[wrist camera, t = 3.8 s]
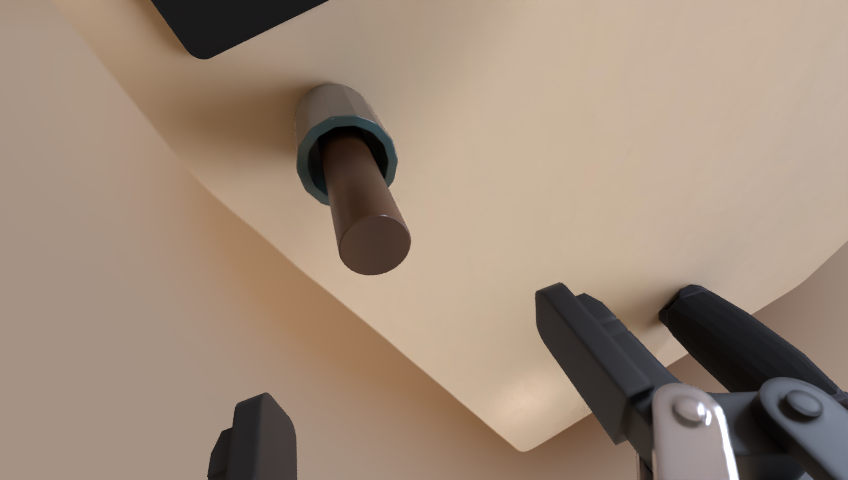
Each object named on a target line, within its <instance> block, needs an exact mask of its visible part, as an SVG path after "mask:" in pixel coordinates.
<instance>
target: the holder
mask: <svg viewBox="0 0 848 480" xmlns="http://www.w3.org/2000/svg"><path fill="white" fill-rule="evenodd" d="M342 126H357V127H359V129H360V131H361V133H362V135H363V137H364V139H365V141H366V143H367V145H368V147H369V149H370V151H371V153H372V156H373V158H374V160H375V162H376V164H377V166H378V168H379V170H380V172H381V174H382V176H383V178H384V180H385V182H386V185H387V187H389V186H390V185H391V183H392V182H393V180H394V177H395V172H396V167H397V162H398V158H397V154H396V151H395V147H394V143H393V140H392V138H391V137H390V135H389V134H388V132H387V131H386V129H385V128H384V126H383V125H382V123H381V122H380V120H379V119H378V117H377V115H376V114H375V112H374V111H373V109H372V108H371V106H370V105H369V104H368V103H367V102H366V100H365V99H364V98H363V97H362V96H361V95H360V94H359V93H358V92H356V91H355V90H353V89H352V88H350V87H347V86H344V85H340V84H325V85H321V86H318V87H316V88H314V89H312V90H311V91H309V92H308V93H307V94H306V95H305V96H304V97H303V98H302V100H301V101H300V103H299V105H298V107H297V110H296V113H295V128H294V131H295V150H296V169H297V173H298V175H299V177H300V179H301V182H302V184H303V186H304V188H305V190H306V191H307V192H308V193H309V194H311V195H312V196H313V197H314V198H316V199H317V200H318V201H319V202H320V203H323V204H325V205H329V206H330V203H329V198H328V192H327V187H326V182H325V176H324V171H323V166H322V161H321V155H320V150H319V145H318V140H317V138H318V137H319V136H320V135H322V134H324V133H326V132H327V131H329V130H331V129H333V128H334V127H342Z"/></svg>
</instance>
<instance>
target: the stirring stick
mask: <svg viewBox="0 0 848 480" xmlns="http://www.w3.org/2000/svg"><path fill="white" fill-rule="evenodd" d="M317 140H318V145H319V150H320V155H321V161H322V166H323V171H324V176H325V182H326V187H327V192H328V198H329V203H330V208H331V213H332V219H333V224H334V229H335V234H336V240H337V245H338V250H339V255H340V258H341V260H342V262H343V263H344V264H345V265H346V266H347V267H348V268H349V269H351V270H352V271H354V272H356V273H359V274H363V275H378V274H383V273H386V272H388V271H390V270H392V269H394V268H395V267H397V266H398V265H399V264H400V263H401V262H402V261H403V260H404V259H405V257H406V256H407V254H408V252H409V249H410V245H411V237H410V233H409V230H408V228H407V226H406V224H405V222H404V220H403V218H402V216H401V214H400V212H399V209H398V207H397V205H396V203H395V201H394V199H393V197H392V195H391V193H390V191H389V189H388V187H387V185H386V182H385V180H384V178H383V176H382V174H381V172H380V170H379V168H378V166H377V164H376V162H375V160H374V158H373V156H372V153H371V151H370V149H369V147H368V145H367V143H366V141H365V139H364V137H363V135H362V133H361V131H360V129H359V127H357V126H342V127H334V128H333V129H331V130H329V131H327V132H326V133H324V134H322V135H320V136H319V137H318V138H317Z"/></svg>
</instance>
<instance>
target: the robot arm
mask: <svg viewBox="0 0 848 480" xmlns="http://www.w3.org/2000/svg"><path fill="white" fill-rule="evenodd" d="M535 302H536V325H537V329H538V332H539V334H540V336H541V338H542V340H543V342H544V344H545V345H546V346H547V348H548V349H549V351H550V352H551V354H552V355H553V356H554V358H555V359H556V361H557V362H558V364H559V365H560V366H561V368H562V369H563V371H564V372H565V374H566V375H567V376H568V378H569V379H570V381H571V382H572V384H573V385H574V386H575V388H576V389H577V391H578V392H579V394H580V395H581V396H582V398H583V399H584V401H585V402H586V404H587V405H588V406H589V408H590V409H591V411H592V412H593V414H594V415H595V416H596V418H597V419H598V421H599V422H600V423H601V425H602V426H603V428H604V429H605V431H606V432H607V434H608V435H609V436H610V438H611V439H612V441H613V442H614V444H615V445H617V444H619V443H622V442H624V441H626V440H628V441H629V442H630V443H631V445H632V446H633V447H634V449H635V450H636V466H637V480H848V410H847V409H845V408H844V407H843V406H842V405H841V404H839V403H838V402H837V401H836V400H835V399H833V398H832V397H831V396H830V395H828V394H827V393H826V392H824V391H823V390H821V389H819V388H818V387H816V386H814V385H812V384H810V383H807V382H805V381H802V380H798V379H794V378H788V377H777V378H772V379H769V380H767V381H766V382H765V383H763V385H762V386H761V388H760V389H759V391H755V392H735V393H709V392H704V391H703V390H701V389H699V388H697V387H694V386H691V385H688V384H684V383H682V382H681V381H679V380H678V379H677V378H675V377H674V376H673V375H672V374H671V373H670V372H669V371H668V370H667V369H666V368H665V367H664V366H663V365H662V364H661V363H660V362H659V361H658V360H657V359H656V358H655V357H654V356H653V355H652V354H651V352H650V351H649V350H648V349H647V348H646V347H645V346H644V345H643V344H642V343H641V342H640V341H639V340H638V339H637V338H636V337H635V336H634V335H633V334H632V333H631V332H630V331H628V330H627V328H626V327H625V326H624V325H623V323H622V322H621V321H620V320H619V319H616V316H615V315H614V314H613V313H612V312H611V311H610V310H609V309H608V308H607V307H606V306H605V305H604V304H603V303H602V302H600V301H598V300H597V299H595V298H593V297H591V296H589V295H587V294H585V293H583V294H580V295H578V296H574V295H573V293H572V292H571V291H570V290H569V289H568V288H567V287H566V286H565V285H564V284H563V283H560V282H559V283H556V284H554V285H551V286H548V287H546V288H543V289H540V290H538V291H536V293H535ZM296 451H297V450H296V434H295V430H294V426H293V423H292V421H291V419H290V418H289V416H288V415H287V414H286V413H285V412H284V410H283V409H282V408H281V407H280V406H279V405H278V403H277V402H276V401H275V400H274V399H273V397H272V396H271V395H270V394H269V393H263V394H260V395H257V396H255V397H252V398H250V399H247V400H244V401H242V402H239V403H238V404H237V405H236V407H235V411H234V418H233V427H232V428H229V429H226V430H224V431H222V432H221V434H220V437H219V438H218V441H217V443H216V445H215V447H214V449H213V451H212V453H211V458H210V463H209V469H208V475H207V477H208V480H297V455H296V454H297V452H296Z"/></svg>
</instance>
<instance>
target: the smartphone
mask: <svg viewBox="0 0 848 480" xmlns="http://www.w3.org/2000/svg"><path fill="white" fill-rule="evenodd" d="M151 1H152V3H153V4H154V5H155V7H156V8H157V10H158V11H159V12H160V14H161V15H162V17H163V18H164V19H165V21H166V22H167V24H168V25H169V26H170V28H171V29H172V30H173V32H174V33H175V35H176V36H177V37H178V39H179V40H180V42H181V43H182V44H183V46H184V47H185V49H186V50H187V51H188V52H189V53H190V54H191V55H192V56H194V57H196V58H198V59H209V58H212V57H214V56H216V55H218V54H220V53H222V52H224V51H226V50H228V49H230V48H232V47H234V46H236V45H238V44H240V43H242V42H244V41H246V40H249V39H251V38H253V37H255V36H257V35H259V34H261V33H263V32H265V31H267V30H269V29H271V28H273V27H275V26H277V25H279V24H281V23H283V22H285V21H287V20H289V19H292V18H294V17H296V16H298V15H300V14H302V13H304V12H306V11H308V10H310V9H312V8H314V7H316V6H318V5H320V4H322V3H324V2H326V1H328V0H151Z"/></svg>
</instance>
